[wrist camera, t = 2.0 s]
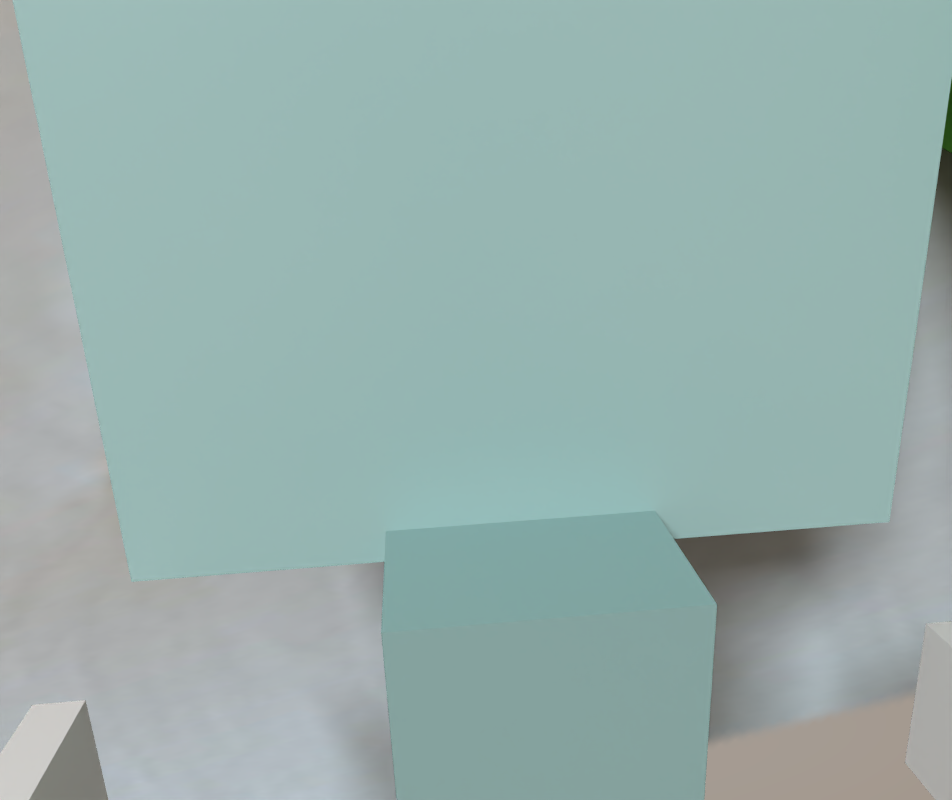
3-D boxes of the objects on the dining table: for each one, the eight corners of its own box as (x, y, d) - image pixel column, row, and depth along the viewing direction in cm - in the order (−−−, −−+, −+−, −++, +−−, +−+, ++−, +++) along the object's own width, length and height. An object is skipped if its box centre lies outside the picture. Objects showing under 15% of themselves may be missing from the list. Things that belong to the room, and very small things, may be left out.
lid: (-99, -954, 8) (-649, -2144, 4) (974, -902, 9) (1494, -1842, 5) (209, 735, 15) (131, 976, 11) (801, 680, 16) (950, 885, 11)
